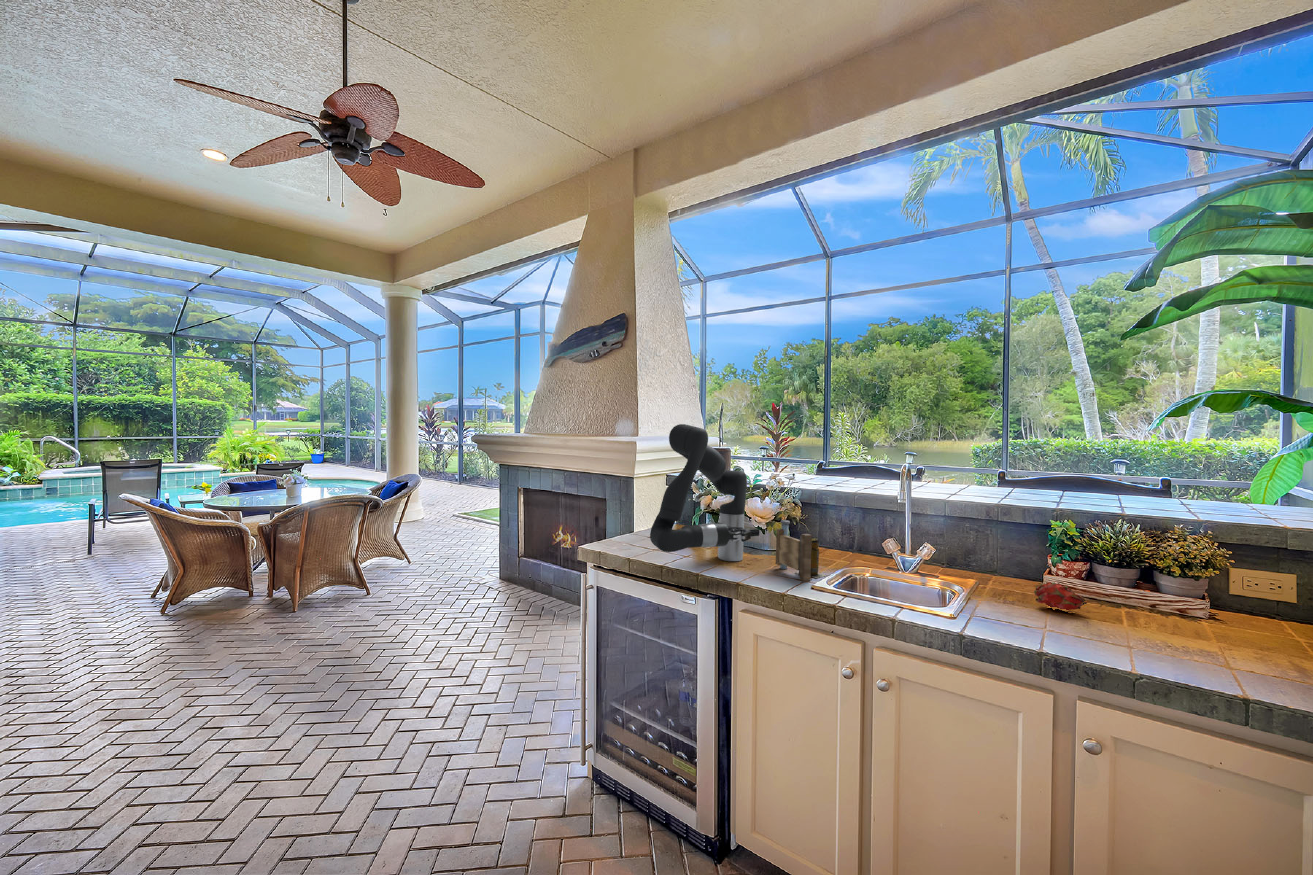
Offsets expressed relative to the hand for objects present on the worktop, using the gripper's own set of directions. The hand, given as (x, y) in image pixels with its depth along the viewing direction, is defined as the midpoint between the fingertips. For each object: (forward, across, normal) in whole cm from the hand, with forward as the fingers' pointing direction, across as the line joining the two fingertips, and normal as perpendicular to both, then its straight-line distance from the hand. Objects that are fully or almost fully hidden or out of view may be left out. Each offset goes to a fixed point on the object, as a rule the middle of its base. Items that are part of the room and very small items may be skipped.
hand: (758, 532), depth 175 cm
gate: (+12, -1, +14) cm, 19 cm away
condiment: (+19, -3, +15) cm, 25 cm away
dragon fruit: (+66, -53, +15) cm, 86 cm away
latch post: (+14, +6, +15) cm, 22 cm away
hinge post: (+12, -9, +15) cm, 21 cm away
